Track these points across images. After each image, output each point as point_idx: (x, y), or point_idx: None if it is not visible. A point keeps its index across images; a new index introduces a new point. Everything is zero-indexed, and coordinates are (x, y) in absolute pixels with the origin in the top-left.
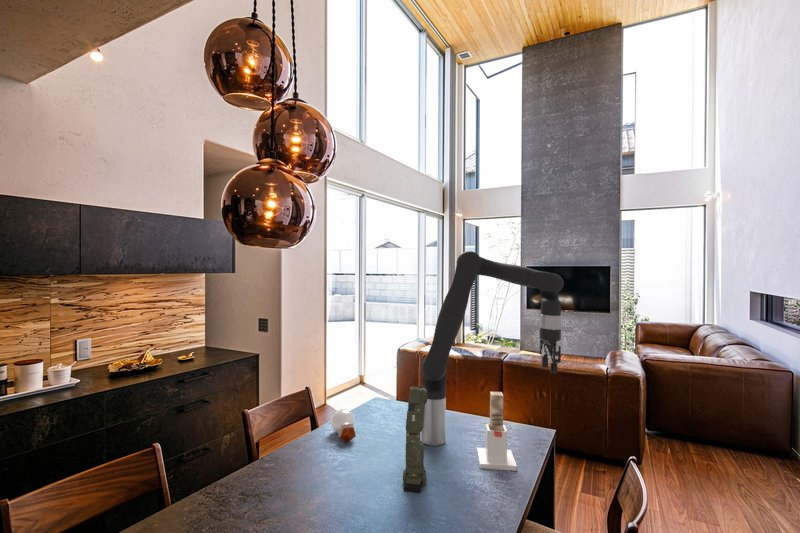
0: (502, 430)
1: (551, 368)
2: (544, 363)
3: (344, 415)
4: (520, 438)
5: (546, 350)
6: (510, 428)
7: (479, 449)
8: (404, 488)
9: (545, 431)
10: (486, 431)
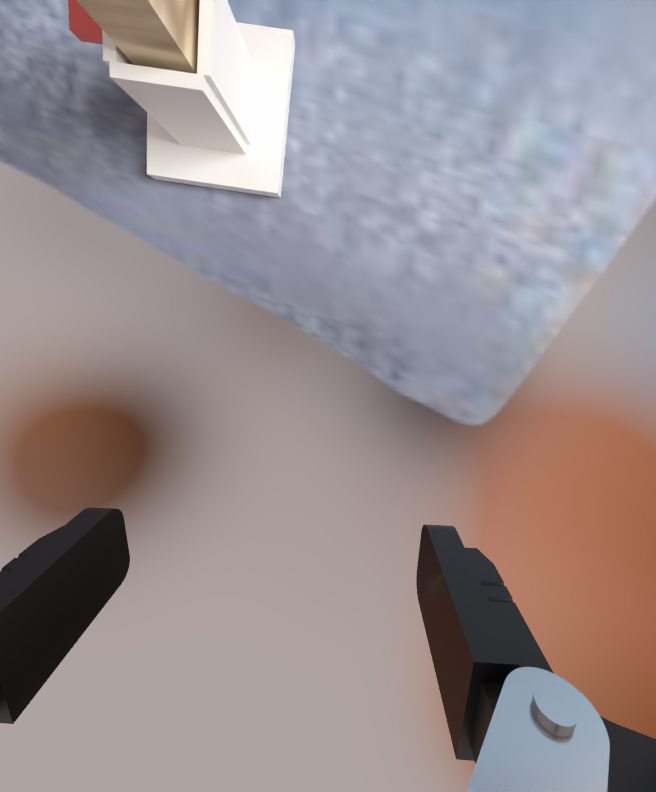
0: (124, 50)
1: (35, 552)
2: (436, 592)
3: None
4: (415, 287)
5: None
6: (517, 277)
7: (275, 39)
8: None
9: (470, 410)
10: None
